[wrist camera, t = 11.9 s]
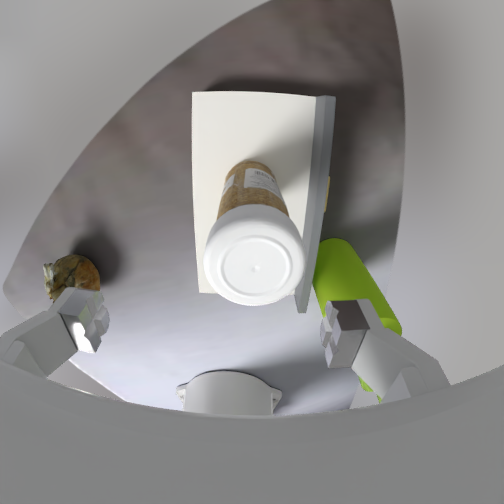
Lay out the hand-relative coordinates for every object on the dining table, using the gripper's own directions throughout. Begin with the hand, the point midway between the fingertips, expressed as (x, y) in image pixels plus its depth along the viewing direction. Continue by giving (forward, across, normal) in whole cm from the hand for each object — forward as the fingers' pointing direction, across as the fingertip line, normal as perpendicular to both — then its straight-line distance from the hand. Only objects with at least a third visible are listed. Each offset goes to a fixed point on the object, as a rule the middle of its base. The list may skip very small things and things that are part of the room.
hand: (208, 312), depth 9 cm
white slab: (+19, -2, +1) cm, 19 cm away
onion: (+20, +20, +11) cm, 30 cm away
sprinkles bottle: (+16, -2, 0) cm, 16 cm away
